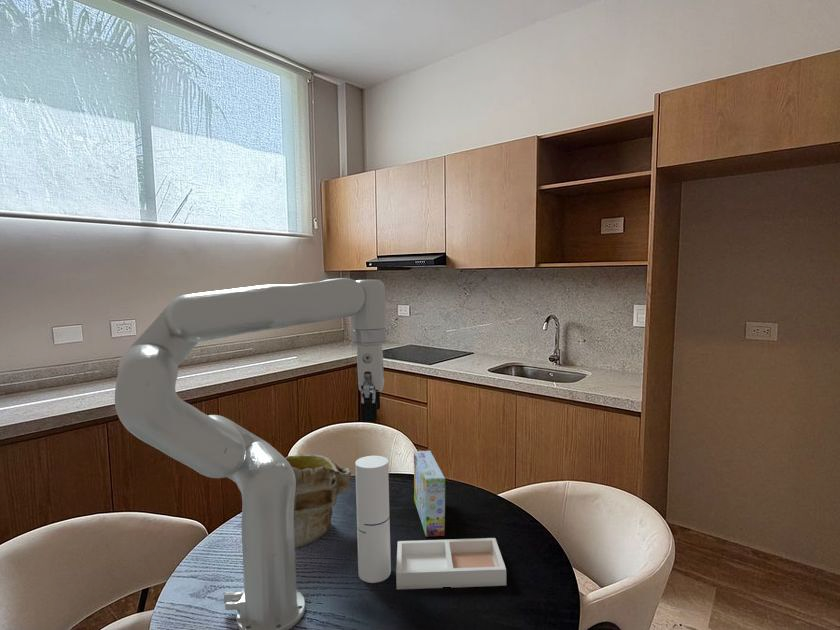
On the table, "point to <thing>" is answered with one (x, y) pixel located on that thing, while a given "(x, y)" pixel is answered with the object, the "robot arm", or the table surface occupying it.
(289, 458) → the ceramic vessel
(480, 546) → the two-bay tray
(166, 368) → the robot arm
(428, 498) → the snack box
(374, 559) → the cylindrical container
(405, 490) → the table surface
